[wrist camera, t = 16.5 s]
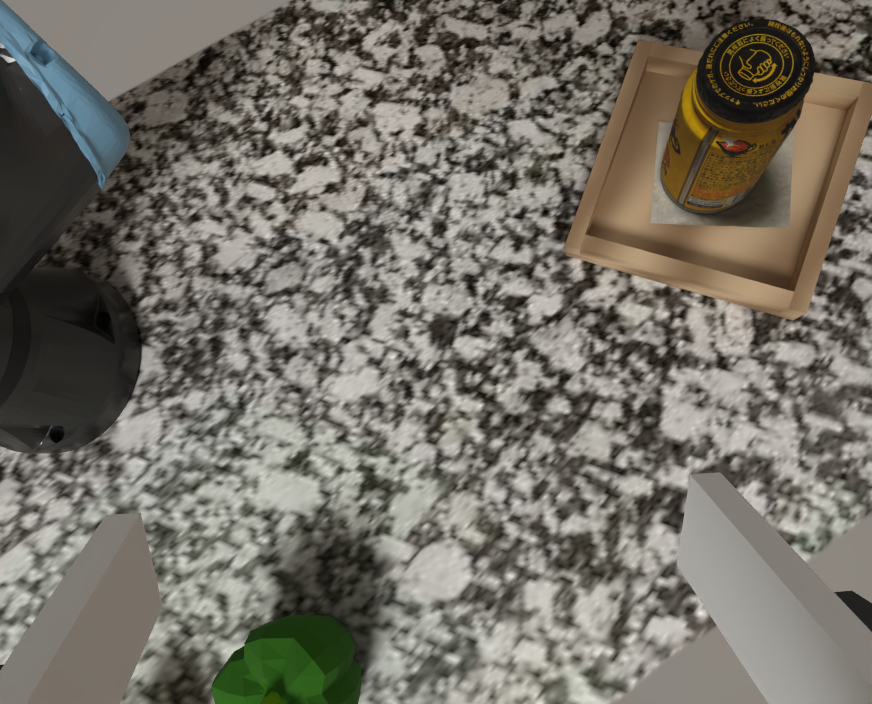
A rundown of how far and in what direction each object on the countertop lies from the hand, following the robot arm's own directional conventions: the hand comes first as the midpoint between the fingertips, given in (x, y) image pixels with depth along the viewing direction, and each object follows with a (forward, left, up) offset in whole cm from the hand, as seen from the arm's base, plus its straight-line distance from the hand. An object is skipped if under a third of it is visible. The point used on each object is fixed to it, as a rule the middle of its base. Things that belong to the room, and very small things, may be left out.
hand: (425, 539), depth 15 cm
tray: (+5, +23, -28) cm, 36 cm away
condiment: (+6, +23, -27) cm, 36 cm away
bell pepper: (-9, -17, -28) cm, 34 cm away
